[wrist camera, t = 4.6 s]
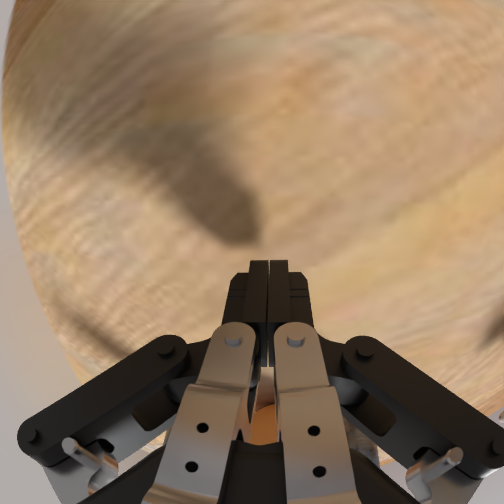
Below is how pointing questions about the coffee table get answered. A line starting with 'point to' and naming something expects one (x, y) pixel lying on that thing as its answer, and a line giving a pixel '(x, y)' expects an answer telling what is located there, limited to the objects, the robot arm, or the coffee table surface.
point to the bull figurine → (501, 417)
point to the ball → (264, 426)
